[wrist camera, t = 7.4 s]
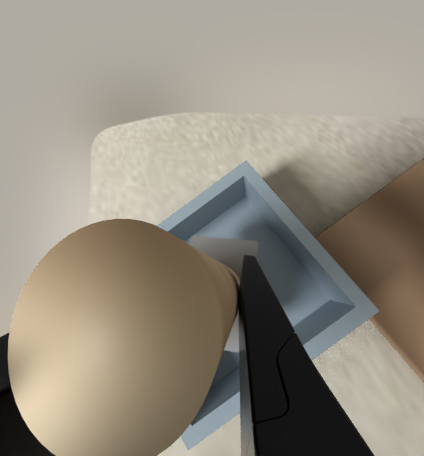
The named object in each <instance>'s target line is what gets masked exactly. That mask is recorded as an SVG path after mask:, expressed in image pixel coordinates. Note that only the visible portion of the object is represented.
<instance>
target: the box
mask: <svg viewBox="0 0 424 456" xmlns="http://www.w3.org/2000/svg"><path fill="white" fill-rule="evenodd" d="M157 227H159V228H162V229H164V230H166V231H167V232H169V233H171V234H172V235H174V236H176V237H178V238H179V239H181V240H183V241H184V242H186V243H188V244H190V245H191V238H192V235H193V236H205V237H216V238H228V239H239V240H251V241H259V243H258V257H257V261H258V262H259V264H260V266H261V268H262V270H263V272H264V274H265V276H266V277H267V279H268V281H269V283H270V285H271V287H272V289H273V291H274V292H275V294H276V296H277V298H278V300H279V302H280V304H281V306H282V307H283V309H284V311H285V313H286V315H287V317H288V319H289V320H290V322H291V324H292V326H293V328H294V330H295V333H296V334H297V335H298V337H299V339H300V341H301V343H302V345H303V346H304V348H305V350H306V352H307V353H308V355H309V357H310V359H311V360H313V359H314V358H316V357H317V356H318V355H320V354H321V353H323V352H324V351H325V350H327V349H328V348H329V347H331V346H332V345H334V344H335V343H336V342H338V341H339V340H340V339H342V338H343V337H345V336H346V335H347V334H349V333H350V332H351V331H353V330H354V329H356V328H357V327H358V326H360V325H361V324H362V323H364V322H365V321H367V320H368V319H369V318H371V317H372V316H373V315H375V314H376V313H378V312H379V310H378V309H377V307H376V306H375V305H374V304H373V303H372V302H371V301H370V300H369V298H368V297H367V296H366V295H365V294H364V293H363V292H362V291H361V289H360V288H359V287H358V286H357V285H356V284H355V283H354V282H353V280H352V279H351V278H350V277H349V276H348V275H347V274H346V272H345V271H344V270H343V269H342V268H341V267H340V266H339V265H338V263H337V262H336V261H335V260H334V259H333V258H332V257H331V256H330V254H329V253H328V252H327V251H326V250H325V249H324V248H323V247H322V245H321V244H320V243H319V242H318V241H317V240H316V239H315V238H314V236H313V235H312V234H311V233H310V232H309V231H308V230H307V228H306V227H305V226H304V225H303V224H302V223H301V222H300V221H299V219H298V218H297V217H296V216H295V215H294V214H293V213H292V212H291V210H290V209H289V208H288V207H287V206H286V205H285V204H284V203H283V201H282V200H281V199H280V198H279V197H278V196H277V195H276V193H275V192H274V191H273V190H272V189H271V188H270V187H269V186H268V184H267V183H266V182H265V181H264V180H263V179H262V178H261V177H260V175H259V174H258V173H257V172H256V171H255V170H254V169H253V168H252V166H251V165H250V164H249V163H248V162H247V161H245V162H243V163H242V164H241V165H239V166H238V167H236V168H235V169H234V170H232V171H231V172H230V173H228V174H227V175H226V176H224V177H223V178H221V179H220V180H219V181H217V182H216V183H215V184H213V185H212V186H211V187H209V188H208V189H206V190H205V191H204V192H202V193H201V194H200V195H198V196H197V197H196V198H194V199H193V200H191V201H190V202H189V203H187V204H186V205H185V206H183V207H182V208H181V209H179V210H178V211H176V212H175V213H174V214H172V215H171V216H170V217H168V218H167V219H166V220H164V221H163V222H161V223H160V224H159V225H157ZM239 413H240V372H239V353H237V352H231V351H226V350H224V351H223V354H222V357H221V359H220V362H219V365H218V368H217V370H216V373H215V376H214V378H213V381H212V384H211V387H210V389H209V391H208V394H207V396H206V398H205V401H204V403H203V405H202V406H201V408H200V410H199V412H198V413H197V415H196V417H195V418H194V420H193V421H192V422H191V424H190V425H189V426H188V428H187V429H186V430H185V431H184V433H183V434H182V435H181V437H182V439H183V441H184V443H185V445H186V447H187V449H188V450H189V449H191V448H192V447H193V446H195V445H196V444H198V443H199V442H200V441H202V440H203V439H204V438H206V437H207V436H209V435H210V434H211V433H213V432H214V431H215V430H217V429H218V428H220V427H221V426H222V425H224V424H225V423H226V422H228V421H229V420H231V419H232V418H233V417H235V416H236V415H237V414H239Z"/></svg>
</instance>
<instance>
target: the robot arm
mask: <svg viewBox="0 0 424 456" xmlns="http://www.w3.org/2000/svg"><path fill="white" fill-rule="evenodd" d="M238 327H239V372H240V418H241V456H374V454H373V453H372V451H371V450H370V448H369V447H368V445H367V444H366V442H365V441H364V439H363V438H362V436H361V435H360V433H359V432H358V430H357V429H356V427H355V426H354V425H353V423H352V422H351V420H350V419H349V417H348V416H347V414H346V413H345V411H344V410H343V408H342V407H341V405H340V404H339V402H338V401H337V399H336V398H335V396H334V395H333V393H332V392H331V390H330V389H329V387H328V386H327V384H326V383H325V381H324V380H323V378H322V376H321V375H320V373H319V372H318V370H317V369H316V367H315V366H314V364H313V362H312V360H311V359H310V357H309V355H308V353H307V352H306V350H305V348H304V346H303V345H302V343H301V341H300V339H299V337H298V335H297V334H296V333H295V330H294V328H293V326H292V324H291V322H290V320H289V319H288V317H287V315H286V313H285V311H284V309H283V307H282V306H281V304H280V302H279V300H278V298H277V296H276V294H275V292H274V291H273V289H272V287H271V285H270V283H269V281H268V279H267V277H266V276H265V274H264V272H263V270H262V268H261V266H260V264H259V262H258V261H257V259H256V257H255V256H254V255H244V256H243V261H242V267H241V274H240V291H239V313H238ZM9 333H10V332H9ZM9 333H8V334H6V335H4V336H2V337H0V456H56V455H54V454H53V453H51V452H50V451H49V450H48V449H47V448H46V447H45V446H43V445H42V444H41V443H40V442H39V441H38V439H37V438H36V437H35V436H34V434H33V433H32V432H31V431H30V429H29V428H28V426H27V424H26V423H25V421H24V419H23V418H22V416H21V413H20V411H19V409H18V407H17V404H16V402H15V398H14V395H13V392H12V388H11V383H10V377H9V370H8V340H9Z"/></svg>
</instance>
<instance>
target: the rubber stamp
mask: <svg viewBox="0 0 424 456" xmlns="http://www.w3.org/2000/svg"><path fill="white" fill-rule="evenodd" d="M258 243H259V241H251V240H239V239H228V238H216V237H205V236H193V235H192V238H191V245H190V244H188V243H186V242H184V241H183V240H181V239H179V238H178V237H176V236H174V235H172V234H171V233H169V232H167V231H166V230H164V229H162V228H159V227H157V226H155V225H153V224H150V223H146V222H143V221H138V220H131V219H113V220H105V221H101V222H97V223H93V224H91V225H88V226H86V227H83V228H81V229H79V230H77V231H76V232H74V233H72V234H70V235H69V236H67V237H66V238H65V239H63V240H62V241H60V242H59V243H58V244H57V245H56V246H54V247H53V248H52V249H51V250H50V251H49V252H48V253H47V254H46V256H44V258H43V259H42V260H41V261H40V262H39V264H38V265H37V266H36V268H35V269H34V270H33V272H32V273H31V275H30V277H29V279H28V280H27V282H26V284H25V285H24V288H23V290H22V292H21V294H20V297H19V299H18V302H17V304H16V307H15V310H14V314H13V318H12V322H11V326H10V333H9V340H8V370H9V377H10V383H11V388H12V392H13V395H14V398H15V402H16V404H17V407H18V409H19V411H20V413H21V416H22V418H23V419H24V421H25V423H26V424H27V426H28V428H29V429H30V431H31V432H32V433H33V434H34V436H35V437H36V438H37V439H38V441H39V442H40V443H41V444H42V445H43V446H45V447H46V448H47V449H48V450H49V451H50V452H51V453H53V454H54V455H56V456H157V455H158V454H160V453H161V452H162V451H164V450H165V449H167V448H168V447H169V446H171V445H172V444H173V443H174V442H175V441H176V440H177V439H178V438H179V437H180V436H181V435H182V434H183V433H184V431H185V430H186V429H187V428H188V426H189V425H190V424H191V422H192V421H193V420H194V418H195V417H196V415H197V413H198V412H199V410H200V408H201V406H202V405H203V403H204V401H205V398H206V396H207V394H208V391H209V389H210V387H211V384H212V381H213V378H214V376H215V373H216V370H217V368H218V365H219V362H220V359H221V357H222V354H223V351H224V350H226V351H231V352H237V353H239V327H238V313H239V291H240V274H241V267H242V261H243V256H244V255H254V256H255V257H256V259H257V257H258Z"/></svg>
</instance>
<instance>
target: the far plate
mask: <svg viewBox="0 0 424 456" xmlns="http://www.w3.org/2000/svg"><path fill="white" fill-rule="evenodd" d="M315 239H316V240H317V241H318V242H319V243H320V244H321V245H322V247H323V248H324V249H325V250H326V251H327V252H328V253H329V254H330V256H331V257H332V258H333V259H334V260H335V261H336V262H337V263H338V265H339V266H340V267H341V268H342V269H343V270H344V271H345V272H346V274H347V275H348V276H349V277H350V278H351V279H352V280H353V282H354V283H355V284H356V285H357V286H358V287H359V288H360V289H361V291H362V292H363V293H364V294H365V295H366V296H367V297H368V298H369V300H370V301H371V302H372V303H373V304H374V305H375V306H376V307H377V309H378V310H379V312H378V313H376V314H375V315H373V316H372V317H371V318H369V319H370V320H371V321H372V322H373V324H374V325H375V326H376V327H377V328H378V329H379V331H380V332H381V333H382V334H383V335H384V336H385V337H386V339H387V340H388V341H389V342H390V343H391V344H392V346H393V347H394V348H395V349H396V350H397V351H398V353H399V354H400V355H401V356H402V357H403V358H404V360H405V361H406V362H407V363H408V364H409V365H410V367H411V368H412V369H413V370H414V371H415V372H416V373H417V375H418V376H419V377H420V378H421V379H422V380H423V382H424V159H422V160H421V161H420V162H418V163H417V164H415V165H414V166H413V167H411V168H410V169H409V170H407V171H406V172H404V173H403V174H402V175H400V176H399V177H398V178H396V179H395V180H394V181H392V182H391V183H389V184H388V185H387V186H385V187H384V188H383V189H381V190H380V191H378V192H377V193H376V194H374V195H373V196H372V197H370V198H369V199H368V200H366V201H365V202H363V203H362V204H361V205H359V206H358V207H357V208H355V209H354V210H352V211H351V212H350V213H348V214H347V215H346V216H344V217H343V218H342V219H340V220H339V221H337V222H336V223H335V224H333V225H332V226H331V227H329V228H328V229H326V230H325V231H324V232H322V233H321V234H320V235H318V236H317V237H316V238H315Z"/></svg>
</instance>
